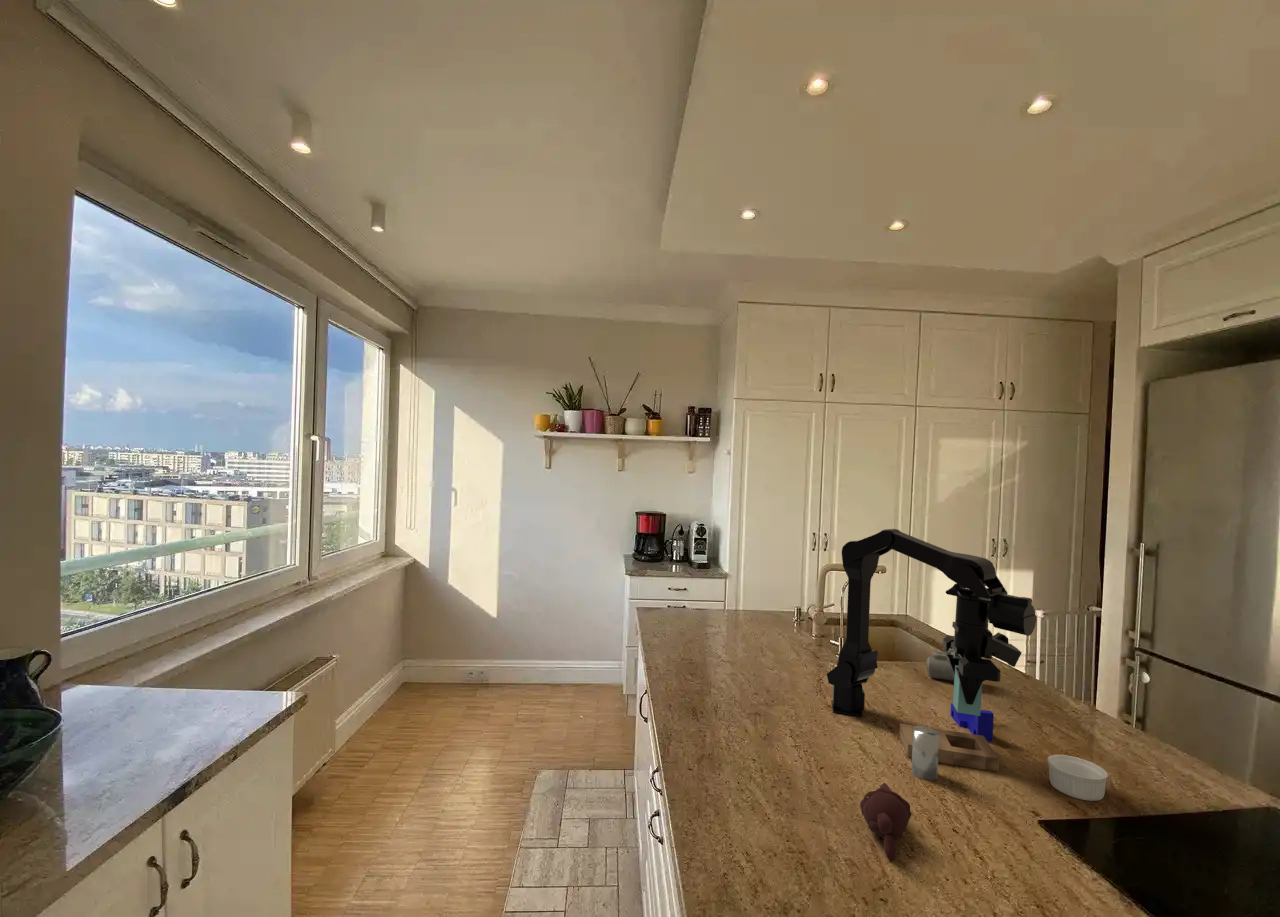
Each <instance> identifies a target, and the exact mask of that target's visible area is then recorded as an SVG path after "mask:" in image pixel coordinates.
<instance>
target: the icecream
mask: <svg viewBox="0 0 1280 917" xmlns="http://www.w3.org/2000/svg"><path fill="white" fill-rule="evenodd" d="M859 807H860V810H861V814H862V816H863V819H864V820H865V822H866V823H867V825H868V829H869V830H871V832H872V833H874V834H875V835H877V836H879V837H880V838H882V839H883V848H884V853H885V856H886V858H887V859H888V860H893V859H895V858H896V856H897V851H898V847H897V842H896V840H897V839H898V838H899V837H900V836H902V834H904V833H905V832H907V827H908V824H909V822H910V819H911V816H912V812H911V804H910V803H909V802H908V800H906V799H904V798H903V797H902V796H901V795H900V794H899V793H897V792H895V791H892V790H891V788H890V787H889V785H888V784H887V783H886V782H883V783H882V784H881V785H880V786H879V788H877V789H876V790H871V791H868V792H866V794H865V795H864V797H863V798H862V800H860V802H859Z"/></svg>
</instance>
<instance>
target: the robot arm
mask: <svg viewBox="0 0 1280 917" xmlns="http://www.w3.org/2000/svg"><path fill="white" fill-rule="evenodd" d="M892 550H893V551H895V552H898V553H900V554H901V555H902V554H903V555H904V556H908V557H909V558H912V559H914V560H916V561H919V562H921V563H924V564H926V565H927V566H930V567H932V568H935V569H937V570H938V571H941V572H942V574H944V575H945V576H946V577H947V578H948V579H949V580H951V581H953V582H954V584H953V586H951V587H950V588H948V589H947V590H946V591H945V594H946V595H948V596H949V595H950V596H952V597H953V596H954V597H956V602H955V603H956V605H955V617H954V618H955V621H952V624H951V625H952V628H953V629H954V635H949V634H947V635H946V636H945V637H944V638H942V649H943V650H944V652H945V651H949V648H951V655H950V654H947V658H948V660H949V663H950V666H951V669H952V671H953V674H954V677H955V669H956V672H957V675H958V678H959V682H960V685H961V688H962V691H963V695H964V698H965V701H966V703H967V704H970V705H972V704H973V703H974V700H975V698H976V695H977V693H978V690H979V688H980V686H981V684H982V685H983V682H985V681H988V682H997V683H999V682H1001V673H1002V672H1001V670H1000V668H998V666H996V665H995V664H994V662H993V661H992V659H993V657H994V658H995V659H998V660H999V661H1002V662H1004V663H1005V664H1007V665H1008V666H1011V667H1013V668H1015V667H1016V666H1017V664H1018V662H1019V659H1020V658H1021V655H1022V653H1023V652H1022V651H1020V650H1019V649H1018V647H1016V646H1014V645H1013V644H1012V643H1009V637H1007V636H1006V635H1005V634H1003V633H1001V632H997V633H996V634H993V632H992V631H991V630H990V629H989V624H992V626H993V628H995V629H1000V630H1002V631H1003V630H1004V631H1006V632H1007V631H1008V632H1012V633H1016V634H1019V635H1023V636H1027V637H1029V636H1031V635H1032V634H1033V633H1034V630H1035V628H1036V624H1037V614H1036V610H1035V607H1034V606H1033V598H1031V597H1026V596H1016V595H1012V594H1008V591H1007V590H1006V588H1005V586H1004V584H1003V583H1002V582H1001V580H1000V579H999V577H998V576H997V572H996V568H995V566H994V563H993V562H992V561H991V560H989V559H988V558H986V557H981V556H977V555H972V554H966V553H961V552H954V551H951V550H947V549H944V548H942V547H940V546H937V545H934V544H931V543H930V542H927V541H925V540H923V539H920V538H918V537H914V536H912V535H910V534H908V533H907V534H906V533H905V532H903V531H901V530H900V529H897V528H886V529H882V530H880V531H878V532H877V533H875V534H873V535H869V536H868V537H865V538H862V539H859V540H850V541H847V542H846V543H845V544H844V545H843V546H842V548H841V560H842V567H843V569H844V572H845V574H846V576H847V579H848V581H847V582H848V584H847V586H848V587H847V604H846V606H847V607H846V631H845V632H846V634H845V641H844V643H843V645H842V647H841V649H840V650H839V654H838V660H837V664H836V666H835V667H834V668H832V669H831V670H830V671H828V672H826V679H827V681H828V684H830V685H832V699H831V710H832V712H833V713H836V714H842V715H843V714H844V715H850V716H857V717H863V716H864V715H863V712H865V699H866V698H865V697H866V693H865V690H864V688H863V684H866V683H868V681H869V678H870V677H872V676H873V675H874V674H875V672H876V669H878V668H879V666H878V663H877V662H878V661H877V659H878V650H874V649H872V647H871V644H870V642H869V633H870V632H869V631H870V629H869V628H870V611H871V610H870V606H871V605H870V604H871V585H872V584H871V581H872V579H873V577H874V575H875V573H876V571H877V569H878V566H879V560H880V557H881V556H884V555H885V554H887V553H889V552H890V551H892ZM955 665H958V666H959V668H957V667H955Z"/></svg>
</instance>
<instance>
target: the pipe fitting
mask: <svg viewBox="0 0 1280 917" xmlns="http://www.w3.org/2000/svg"><path fill="white" fill-rule="evenodd" d="M947 654H950V655H951V648H949V651H945V650H944V651H938V650H937V651H934V652H933V653H932V655H929V656H928V657H927V659H926V672H927V674H928V676H929V677H930V678H931V679H936V680H937V679H938V680H944V681H945V680H946V681H953V682H954V678H955V677H954V674H953V671H952V669H951V666H950V663H949V660H948V658H947Z"/></svg>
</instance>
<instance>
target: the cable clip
mask: <svg viewBox="0 0 1280 917" xmlns="http://www.w3.org/2000/svg"><path fill="white" fill-rule="evenodd" d="M994 715H995V714H994V713H993V712H992V711H991V710H985V709H981V712H980V716H976V715H970V714H964V713H957V711H956V709H955V707H954V706H953V702H952V703H950V717H951V718H952V719H953V721H954V722H955V723H956V724H957V725H958V727H959V728H966V729H968V731H969V732H970V734H975V735H982V736H984V737H985V739H986V740H987V742H993V740H994V739H993V738H994V736H993V735H994Z"/></svg>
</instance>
